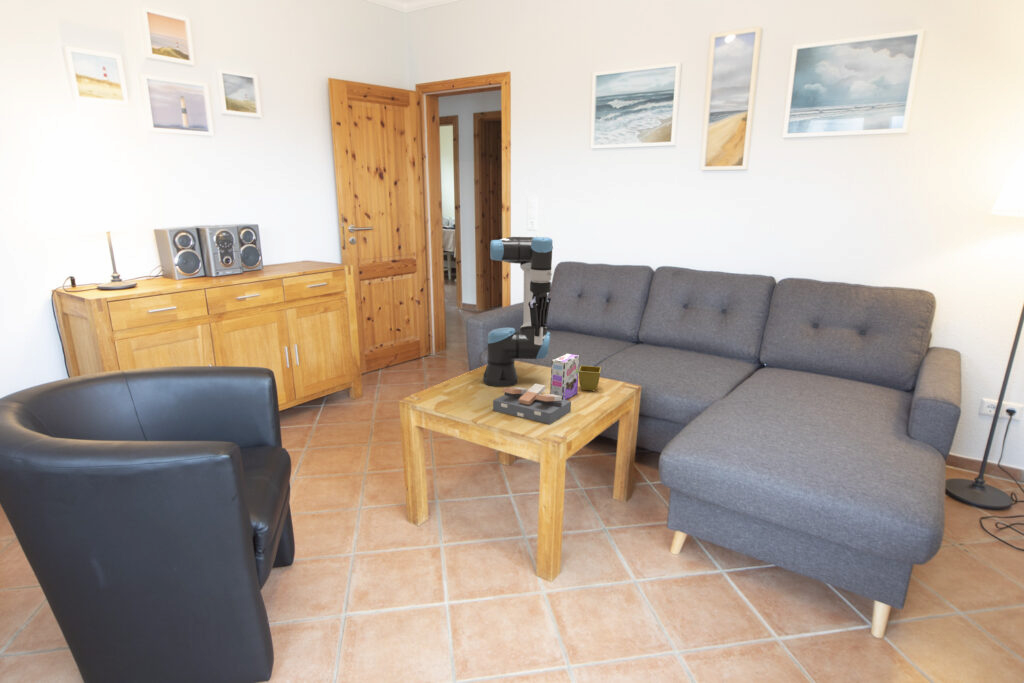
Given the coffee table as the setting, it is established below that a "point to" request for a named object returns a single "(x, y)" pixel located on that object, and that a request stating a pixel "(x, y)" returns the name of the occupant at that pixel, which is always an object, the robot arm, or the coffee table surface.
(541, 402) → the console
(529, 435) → the coffee table surface
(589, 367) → the flower pot
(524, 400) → the rocker middle
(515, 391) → the rocker left
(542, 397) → the rocker right
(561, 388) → the candy box
